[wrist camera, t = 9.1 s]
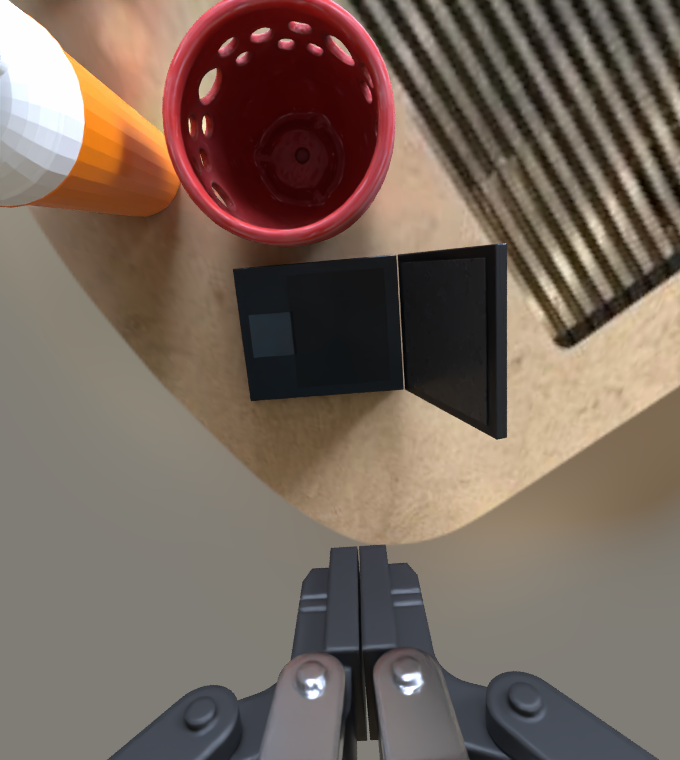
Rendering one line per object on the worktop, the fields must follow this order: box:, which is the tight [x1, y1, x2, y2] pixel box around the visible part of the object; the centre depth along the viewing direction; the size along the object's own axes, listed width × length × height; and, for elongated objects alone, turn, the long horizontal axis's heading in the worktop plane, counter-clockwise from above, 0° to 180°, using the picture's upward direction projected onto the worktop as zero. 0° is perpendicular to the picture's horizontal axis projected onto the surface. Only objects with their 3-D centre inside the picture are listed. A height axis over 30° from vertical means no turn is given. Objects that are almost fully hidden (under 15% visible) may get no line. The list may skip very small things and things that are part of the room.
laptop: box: [233, 255, 404, 401], centre depth 39 cm, size 13×11×2 cm
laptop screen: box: [398, 243, 507, 440], centre depth 32 cm, size 13×11×1 cm
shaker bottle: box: [0, 0, 180, 217], centre depth 28 cm, size 9×9×20 cm
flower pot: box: [162, 0, 395, 247], centre depth 31 cm, size 13×13×12 cm
